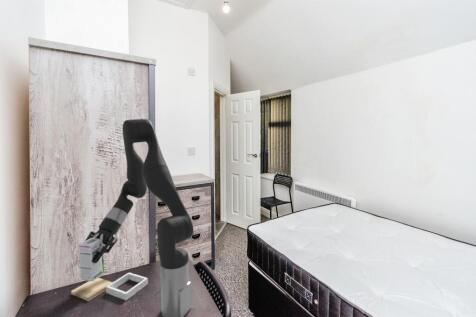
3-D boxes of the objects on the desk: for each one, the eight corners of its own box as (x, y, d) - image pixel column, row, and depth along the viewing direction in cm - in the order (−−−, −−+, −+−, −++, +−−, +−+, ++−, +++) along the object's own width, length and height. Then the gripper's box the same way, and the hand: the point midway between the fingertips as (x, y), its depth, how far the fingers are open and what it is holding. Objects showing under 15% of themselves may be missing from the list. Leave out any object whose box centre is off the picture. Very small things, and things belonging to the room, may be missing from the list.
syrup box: (93, 281, 86) (91, 244, 84) (79, 279, 87) (78, 243, 86) (104, 273, 91) (103, 238, 90) (92, 271, 92) (90, 237, 91)
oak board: (113, 285, 92) (113, 282, 92) (88, 301, 83) (88, 298, 82) (96, 279, 96) (96, 276, 96) (71, 294, 86) (71, 291, 86)
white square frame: (148, 283, 93) (147, 278, 93) (126, 300, 83) (126, 294, 83) (129, 277, 97) (128, 272, 97) (106, 293, 87) (106, 286, 87)
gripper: (96, 214, 97) (67, 253, 87) (120, 219, 91) (92, 261, 81) (107, 222, 102) (82, 260, 92) (131, 227, 97) (107, 267, 87)
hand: (87, 260), depth 87 cm, fingers closed on syrup box, 6 cm apart
